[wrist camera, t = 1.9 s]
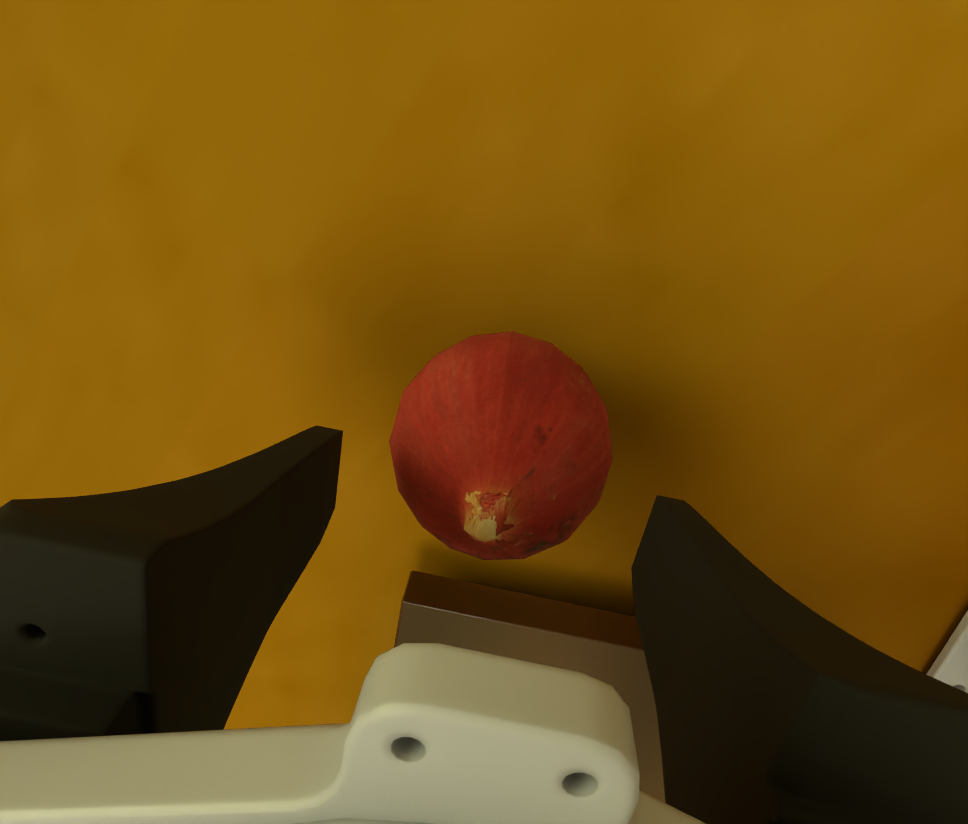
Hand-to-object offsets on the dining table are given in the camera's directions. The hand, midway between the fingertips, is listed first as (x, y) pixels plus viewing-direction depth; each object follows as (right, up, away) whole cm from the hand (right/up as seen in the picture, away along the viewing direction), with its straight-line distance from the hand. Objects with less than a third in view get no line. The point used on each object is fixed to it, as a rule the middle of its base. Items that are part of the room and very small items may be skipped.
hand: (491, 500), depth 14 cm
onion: (+1, +3, +6) cm, 7 cm away
